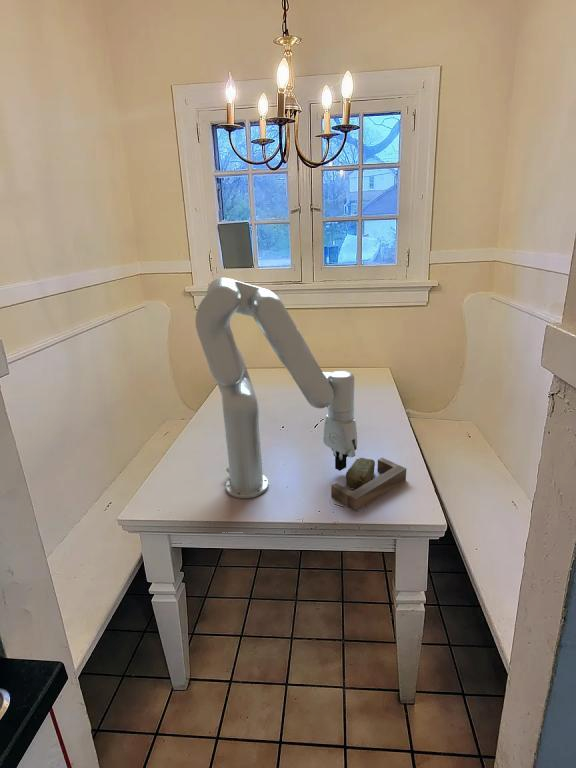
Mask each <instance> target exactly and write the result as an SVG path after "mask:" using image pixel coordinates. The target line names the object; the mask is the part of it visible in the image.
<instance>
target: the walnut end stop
mask: <svg viewBox="0 0 576 768" xmlns="http://www.w3.org/2000/svg"><path fill="white" fill-rule="evenodd" d="M376 470H377V472H378V473H380V475H378V476H376V477H374V478H373V479H372V480H370V481H369V482H368V483H366V484H364V485H363V486H361V487H359V488H358V489H356V490H355V489H353V490H350V488H348V487H345V486H343V485H341V484H339V483H337V482H335V483H333V484H331V494H330V495H331V498H332V499H333V500H334V501H337V502H338V503H339V504H341V505H343V506H344V507H346V508H348V509H349V510H352V511H353V512H355V513H356V512H358V511H359V510H361V509H363V508H364V507H366V506H368V505H369V504H371V503H372V502H374V501H375V500H377V499H378V498H380V497H382V496H384V495H385V494H386V493H388V492H390V491H391V490H393V489H394V488H396V487H397V486H399V485H401V484H402V483H404V482H406V481H407V468H406V467H404V466H401V465H399V464H397V463H395V462H393V461H391V460H388V459H387V458H384V457H381V458H379V459H377V469H376Z"/></svg>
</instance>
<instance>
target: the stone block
mask: <svg viewBox="0 0 576 768" xmlns="http://www.w3.org/2000/svg"><path fill="white" fill-rule="evenodd" d="M375 465H376V461H375V460H374V459H369V458H366V457H359V458H356V459H355V460H354V462H353V463H352V465H351V466H350V467H349V468H348V469H347V472H346V473H345V486H346V488H348V489H349V490H350V489H351V490H356V489H358V488H359V487H361V486H363V485H364V484H366V483H368V482H369V481H371V479H372V478H373V476H374V474H375V467H376V466H375Z"/></svg>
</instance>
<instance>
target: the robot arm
mask: <svg viewBox="0 0 576 768" xmlns="http://www.w3.org/2000/svg"><path fill="white" fill-rule="evenodd" d="M207 287H208V288H207V291H206V294H205V295H204V297H203V298H202V300H201V301H200V303H199V305H198V307H197V310H196V314H195V328H196V333H197V336H198V339H199V341H200V344H201V347H202V351H203V354H204V356H205V359H206V361H207V365H208V368H209V371H210V374H211V376H212V378H213V379H214V380H215V382H216V383H217V384H216V385H217V386H218V389H219V392H220V394H221V395H220V396H221V403H222V413H223V420H224V422H223V423H224V431H225V441H226V442H225V443H226V449H227V459H228V467H226V470H225V471H226V472H227V473H228V474H229V478H228V480H227V481H226V482H225V491H226V493H227V494H228V495H230V496H232V497H233V498H236V499H237V498H238V499H252V498H256V497H258V496H260V495H263V494H264V493H265V492H267V489H268V488H269V479H268V477H266V476H265V475H264V474H263V461H262V460H263V459H262V448H261V435H260V433H261V432H260V408H259V407H260V406H259V401H258V398H257V397H258V396H257V395H256V391H255V388H254V385H253V384H252V380H251V377H250V375H249V372H248V369H247V366H246V363H245V360H244V357H243V353H242V352H241V350H240V349H239V347H238V346H237V344H236V340H235V337H234V335H233V331H232V329H231V324H230V323H231V318H232V317H233V315H234V314H235V313H236V314H241V315H245V316H248V317H253V319H254V321H255V324H256V325H257V326H258V327H259V329H260V330H261V333H263V335H264V337H265V339H266V340H267V342H268V343H269V346H270V347H271V348H272V350H273V351H274V353H275V354H276V356H277V358H278V359H279V361H280V362H281V364H282V365H283V366H284V368H285V369H286V370H287V371H288V373H289V375H290V376H291V377H292V379H293V380H294V383H296V385H297V387H298V388H299V390H300V391H301V393H302V394H303V396H304V398H305V400H306V401H307V403H308V404H309V405H310V406H311V407H313V408H315V409H325V408H327V414H326V415H325V416H326V417H325V420H324V424H323V427H324V428H323V444H324V445H325V446H326V447H328V448H330V449H331V451H332V454H333V457H334V459H335V460H334V462H335V463H334V464H335V465H334V467H335V470H337V471H339V472H340V471H342V470H344V469H346V468H347V458H353V457H355V456H356V450H357V449H358V431H357V423H356V419H355V375H354V374H353V373H352V372H350V371H348V370H334V371H322V368H321V367H320V365H319V363H318V362H317V360H316V359H315V357H314V355H313V353H312V352H311V349H310V348H309V345H308V344H307V342H306V340H305V338H304V337H303V335H302V333H301V332H300V329H298V327H297V325H296V323H295V321H294V320H293V318H292V317H291V315H290V314H289V311H288V310H287V308H286V307H285V305H284V303H283V301H282V300H281V298H280V297H279V296H278V295H277V294H276V293H274V292H273V291H272V290H270V289H267V288H263V287H260V286H257V285H253V284H249V283H245V282H242V281H238V280H235V279H232V278H228V277H219V278H218V277H217V278H215V279H214V280H212V281H211V282H210V283H209V285H208V286H207Z"/></svg>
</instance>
